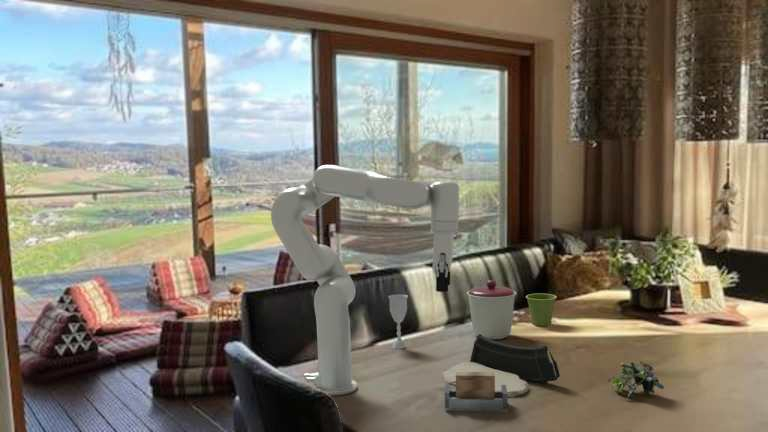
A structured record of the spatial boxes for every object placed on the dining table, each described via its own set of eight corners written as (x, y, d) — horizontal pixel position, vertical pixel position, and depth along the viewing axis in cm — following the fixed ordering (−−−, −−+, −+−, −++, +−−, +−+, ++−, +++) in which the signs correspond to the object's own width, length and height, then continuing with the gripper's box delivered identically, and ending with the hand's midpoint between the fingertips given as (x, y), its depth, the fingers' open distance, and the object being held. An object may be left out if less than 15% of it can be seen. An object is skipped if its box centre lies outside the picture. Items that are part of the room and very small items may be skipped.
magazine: (463, 337, 209) (540, 324, 187) (469, 335, 211) (547, 322, 189) (476, 391, 206) (556, 384, 185) (482, 388, 209) (562, 381, 187)
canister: (527, 337, 241) (526, 280, 239) (491, 345, 231) (490, 286, 229) (492, 328, 256) (492, 274, 254) (457, 335, 246) (456, 279, 244)
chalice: (398, 350, 228) (396, 299, 226) (385, 346, 233) (383, 296, 231) (413, 346, 232) (412, 296, 231) (400, 342, 237) (399, 293, 236)
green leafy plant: (646, 412, 180) (673, 382, 175) (624, 414, 174) (652, 384, 169) (618, 380, 188) (644, 351, 183) (596, 382, 181) (622, 351, 176)
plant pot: (524, 320, 266) (524, 293, 265) (554, 321, 265) (554, 293, 264) (527, 328, 254) (526, 299, 254) (558, 328, 253) (558, 299, 252)
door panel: (456, 405, 172) (455, 375, 171) (456, 401, 175) (455, 371, 174) (495, 405, 171) (494, 375, 170) (494, 401, 174) (493, 372, 173)
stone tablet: (468, 366, 209) (468, 359, 209) (541, 390, 185) (540, 382, 184) (428, 377, 199) (427, 369, 199) (499, 404, 175) (498, 395, 175)
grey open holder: (445, 410, 170) (444, 392, 170) (445, 401, 177) (445, 383, 177) (507, 412, 168) (507, 393, 168) (506, 402, 175) (505, 384, 175)
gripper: (433, 223, 190) (432, 282, 191) (428, 229, 173) (426, 293, 174) (459, 224, 189) (458, 283, 190) (456, 230, 172) (455, 294, 173)
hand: (443, 288), depth 182 cm, fingers open, 9 cm apart
